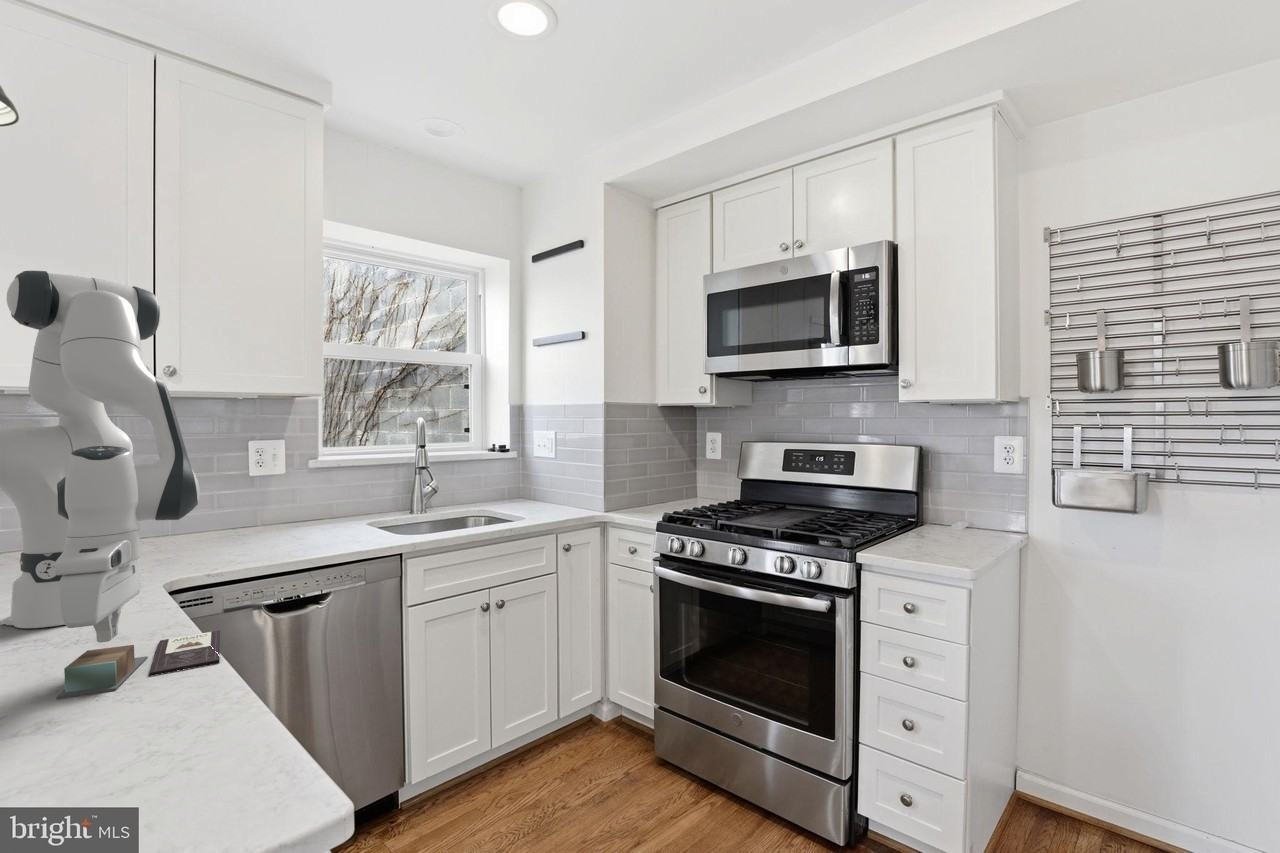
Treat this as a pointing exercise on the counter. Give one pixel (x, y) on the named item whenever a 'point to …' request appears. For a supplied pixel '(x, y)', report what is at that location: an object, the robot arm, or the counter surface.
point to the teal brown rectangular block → (99, 668)
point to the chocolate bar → (186, 652)
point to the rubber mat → (103, 689)
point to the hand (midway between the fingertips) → (107, 639)
